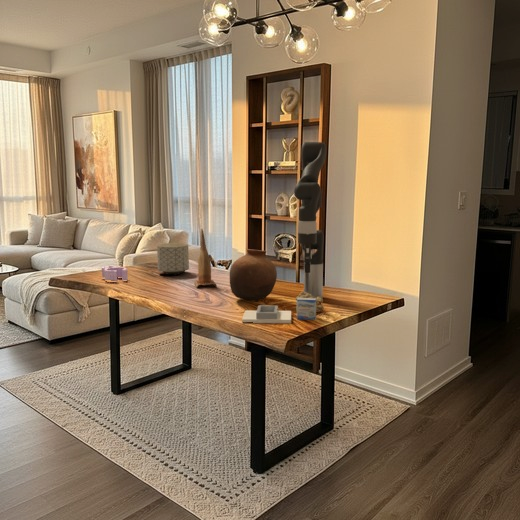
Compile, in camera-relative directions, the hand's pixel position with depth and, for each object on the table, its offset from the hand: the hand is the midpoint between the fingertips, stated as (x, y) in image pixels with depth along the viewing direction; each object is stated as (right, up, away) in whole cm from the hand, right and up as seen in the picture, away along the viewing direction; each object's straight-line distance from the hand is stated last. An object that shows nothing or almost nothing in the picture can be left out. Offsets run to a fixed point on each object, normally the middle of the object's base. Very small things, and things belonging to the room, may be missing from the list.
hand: (307, 270), depth 211 cm
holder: (-16, -20, +4) cm, 26 cm away
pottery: (-23, -15, +37) cm, 46 cm away
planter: (-73, -4, +105) cm, 128 cm away
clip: (-105, -7, +89) cm, 138 cm away
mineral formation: (+2, -18, +17) cm, 25 cm away
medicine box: (0, -20, +3) cm, 21 cm away
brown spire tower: (-50, -10, +69) cm, 86 cm away
